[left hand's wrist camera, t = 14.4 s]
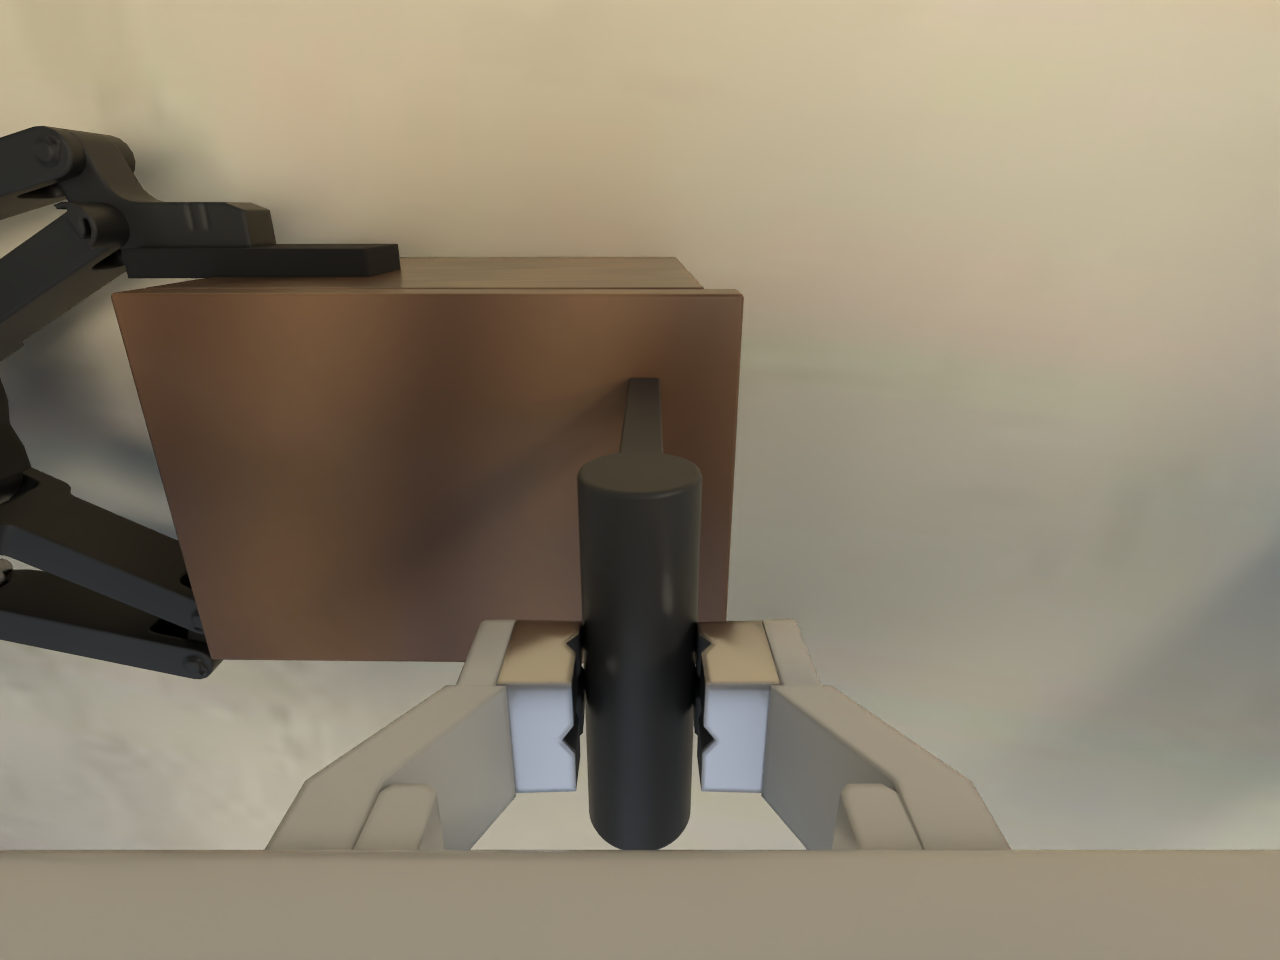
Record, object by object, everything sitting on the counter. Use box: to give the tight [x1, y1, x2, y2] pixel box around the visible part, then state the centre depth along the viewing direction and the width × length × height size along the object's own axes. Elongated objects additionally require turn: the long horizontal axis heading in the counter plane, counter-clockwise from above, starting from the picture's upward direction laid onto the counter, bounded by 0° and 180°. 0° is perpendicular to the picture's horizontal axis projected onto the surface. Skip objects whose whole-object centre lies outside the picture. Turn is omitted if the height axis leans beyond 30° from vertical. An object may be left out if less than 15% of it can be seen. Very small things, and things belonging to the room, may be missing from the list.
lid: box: [111, 289, 744, 850], centre depth 14 cm, size 14×10×8 cm
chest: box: [145, 257, 704, 289], centre depth 23 cm, size 13×10×11 cm
